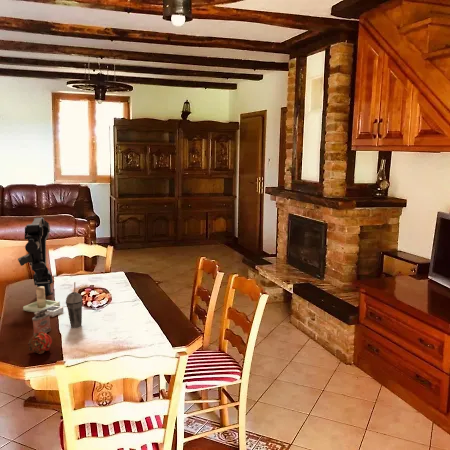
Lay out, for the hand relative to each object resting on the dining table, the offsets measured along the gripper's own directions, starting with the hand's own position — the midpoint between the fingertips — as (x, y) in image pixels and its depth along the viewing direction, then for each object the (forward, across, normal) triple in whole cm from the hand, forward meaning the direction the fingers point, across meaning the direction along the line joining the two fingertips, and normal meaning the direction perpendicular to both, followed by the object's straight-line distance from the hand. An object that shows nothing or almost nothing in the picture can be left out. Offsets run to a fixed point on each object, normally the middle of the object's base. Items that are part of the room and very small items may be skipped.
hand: (38, 279), depth 246 cm
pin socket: (+13, +19, +4) cm, 23 cm away
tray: (+13, +8, 0) cm, 15 cm away
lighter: (+13, +42, -4) cm, 44 cm away
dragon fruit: (+13, +62, -6) cm, 64 cm away
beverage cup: (+13, +42, +10) cm, 45 cm away
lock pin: (+12, +8, 0) cm, 15 cm away
